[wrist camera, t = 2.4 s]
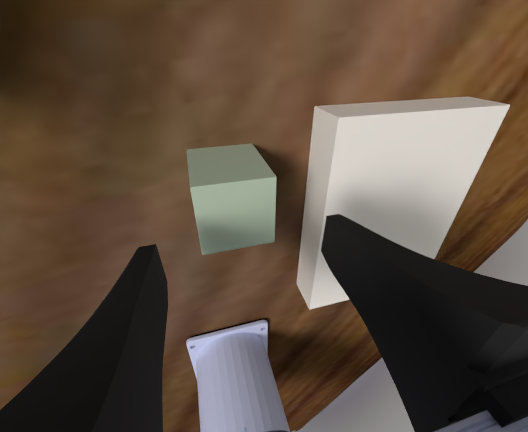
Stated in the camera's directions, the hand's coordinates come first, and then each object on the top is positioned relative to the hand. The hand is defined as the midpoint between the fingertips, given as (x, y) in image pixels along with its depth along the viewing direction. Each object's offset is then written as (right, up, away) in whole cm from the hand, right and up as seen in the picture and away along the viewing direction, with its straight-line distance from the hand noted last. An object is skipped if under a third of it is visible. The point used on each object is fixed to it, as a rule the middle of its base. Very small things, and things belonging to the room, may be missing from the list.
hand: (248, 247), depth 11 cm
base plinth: (+10, +2, +11) cm, 15 cm away
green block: (-2, +4, +6) cm, 7 cm away
